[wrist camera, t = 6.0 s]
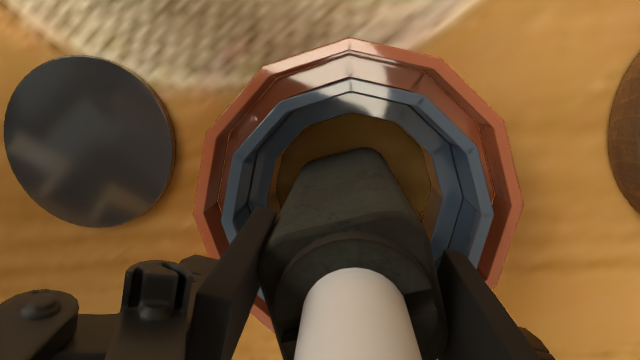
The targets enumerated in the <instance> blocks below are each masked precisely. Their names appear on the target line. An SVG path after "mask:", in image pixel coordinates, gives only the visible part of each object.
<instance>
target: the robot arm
mask: <svg viewBox="0 0 640 360" xmlns="http://www.w3.org/2000/svg"><path fill="white" fill-rule="evenodd" d="M276 214H277V211H274V210H269V209H265V208H261V207H256V208H255V209H254V211H253V212H252V213H251V215H250V216H249V218H248V219H247V221H246V222H245V223H244V225H243V226H242V228H241V229H240V231H239V232H238V233H237V235H236V236H235V238H234V239H233V241H232V242H231V243H230V245H229V246H228V248H227V249H226V251H225V252H224V254H223V255H222V256H221V258H220V259H219V260H217V259H213V258H209V257H204V256H200V255H193V256H190V257H188V258H185V259H183V260H181V261H180V263H179V264H177V263H175V262H169V261H163V260H150V261H144V262H139V263H137V264H135V265H132V266H130V267H129V269H128V270H127V271H126V274H125V281H124V289H123V296H122V304H121V310H120V313H117V314H108V315H93V314H78V310H79V305H78V301H77V299H76V298H75V297H73V296H72V295H71V294H68V293H65V292H62V291H55V290H49V289H41V290H32V291H29V292H25V293H21V294H18V295H15V296H13V297H11V298H10V299H8V300H6V301H4V302H3V303H1V304H0V360H231V358H232V356H233V353H234V351H235V348H236V346H237V343H238V341H239V338H240V336H241V333H242V331H243V328H244V326H245V323H246V321H247V319H248V316H249V314H250V311H251V309H252V306H253V304H254V301H255V299H256V296H257V294H258V291H259V289H260V283H259V279H258V273H257V267H258V261H259V257H260V255H261V252H262V250H263V248H264V246H265V244H266V242H267V239H268V237H269V235H270V233H271V231H272V229H273V227H274V224H275V219H276ZM437 277H438V281H439V286H440V290H441V295H442V299H443V303H444V308H445V312H446V317H447V321H448V327H449V338H448V343H447V346H446V348H445V350H444V351H443V353H442V354H441V355H440V357H439V358H438V360H555V358H554V357H553V356H552V355H551V354H549V351H548V349H547V348H546V347H545V346H544V344H543V343H542V342H541V340H540V339H538V338H537V337H536V336H535V335H533V334H532V333H531V332H529V331H528V330H527V329H526V328H522V327H518V326H517V325H516V324H515V322H514V321H513V319H512V318H511V317H510V315H509V314H508V313H507V311H506V310H505V308H504V307H503V306H502V304H501V303H500V302H499V300H498V299H497V297H496V296H495V295H494V293H493V292H492V291H491V289H490V288H489V286H488V285H487V284H486V282H485V281H484V280H483V278H482V277H481V275H480V274H479V273H478V271H477V270H476V269H475V267H474V266H473V264H472V263H471V262H470V260H469V259H468V258H467V256H466V255H465V254H463V253H458V252H454V251H450V250H445V249H444V251H443V254H442V258H441V261H440V264H439V267H438V271H437Z"/></svg>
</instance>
